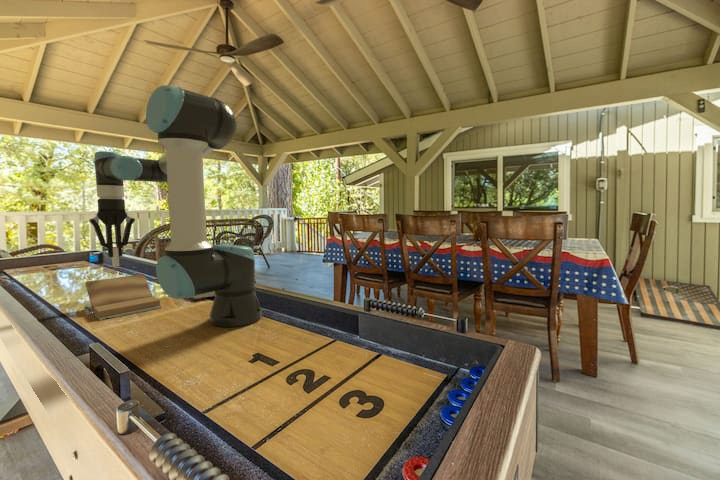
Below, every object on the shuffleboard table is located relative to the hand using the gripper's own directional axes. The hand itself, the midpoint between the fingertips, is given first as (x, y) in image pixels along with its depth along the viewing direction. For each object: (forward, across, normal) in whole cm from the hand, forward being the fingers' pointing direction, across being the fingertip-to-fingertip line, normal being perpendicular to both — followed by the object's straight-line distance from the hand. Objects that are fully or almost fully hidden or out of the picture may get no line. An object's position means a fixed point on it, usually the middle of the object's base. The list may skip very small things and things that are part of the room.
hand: (115, 265), depth 119 cm
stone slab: (+14, -25, +4) cm, 29 cm away
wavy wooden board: (+9, 0, +3) cm, 10 cm away
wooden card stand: (+14, 0, +6) cm, 15 cm away
